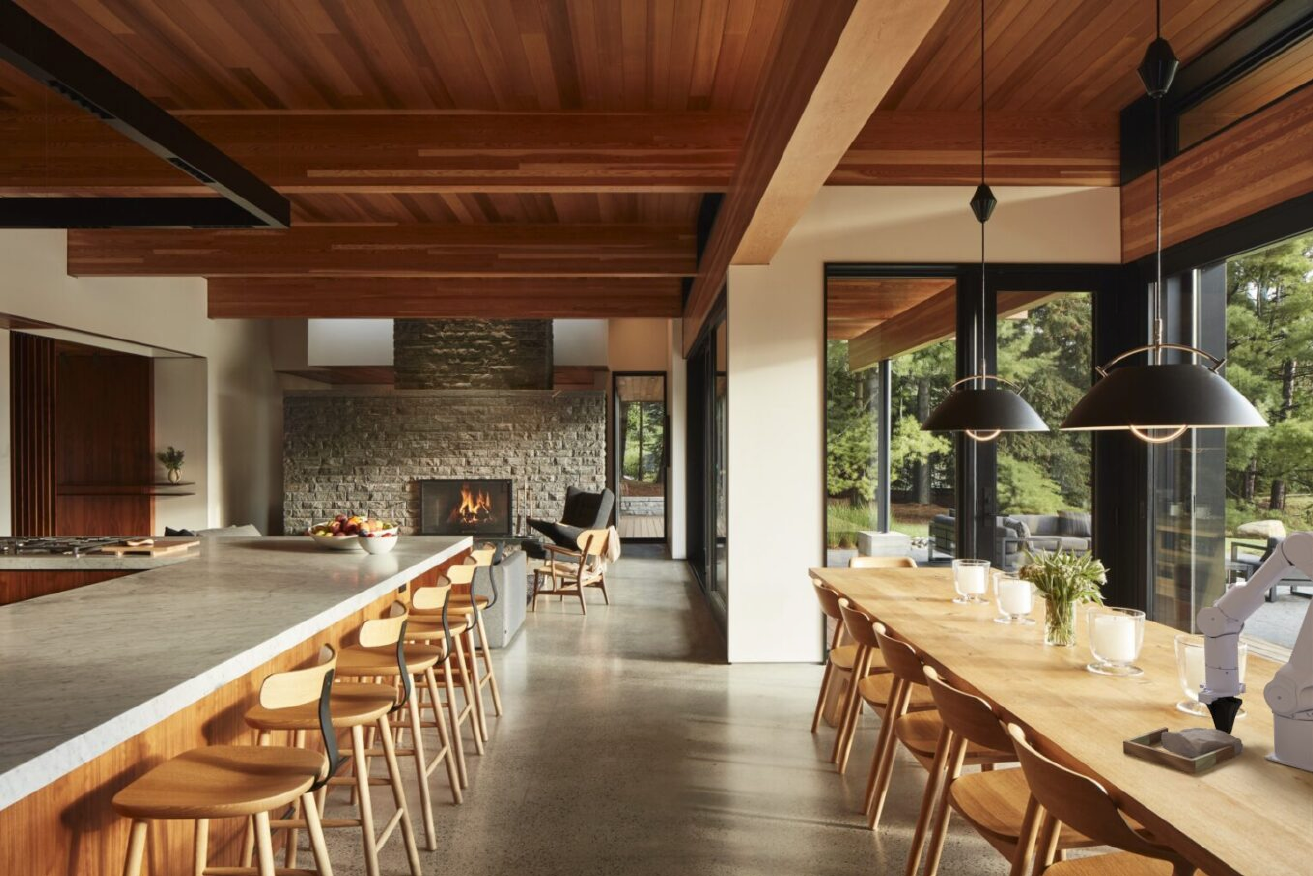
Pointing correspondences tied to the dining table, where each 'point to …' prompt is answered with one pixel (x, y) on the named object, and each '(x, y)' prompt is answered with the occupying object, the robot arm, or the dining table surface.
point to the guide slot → (1141, 749)
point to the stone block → (1199, 741)
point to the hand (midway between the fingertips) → (1223, 733)
